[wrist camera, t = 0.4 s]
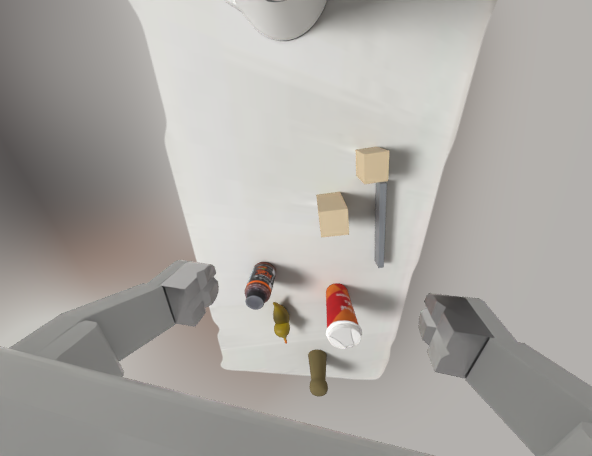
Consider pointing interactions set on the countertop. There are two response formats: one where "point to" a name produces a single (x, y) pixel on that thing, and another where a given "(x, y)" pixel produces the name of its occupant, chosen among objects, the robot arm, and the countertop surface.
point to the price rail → (380, 222)
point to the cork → (318, 372)
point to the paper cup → (341, 318)
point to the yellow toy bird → (281, 321)
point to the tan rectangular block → (332, 214)
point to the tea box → (372, 165)
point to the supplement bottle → (260, 285)
